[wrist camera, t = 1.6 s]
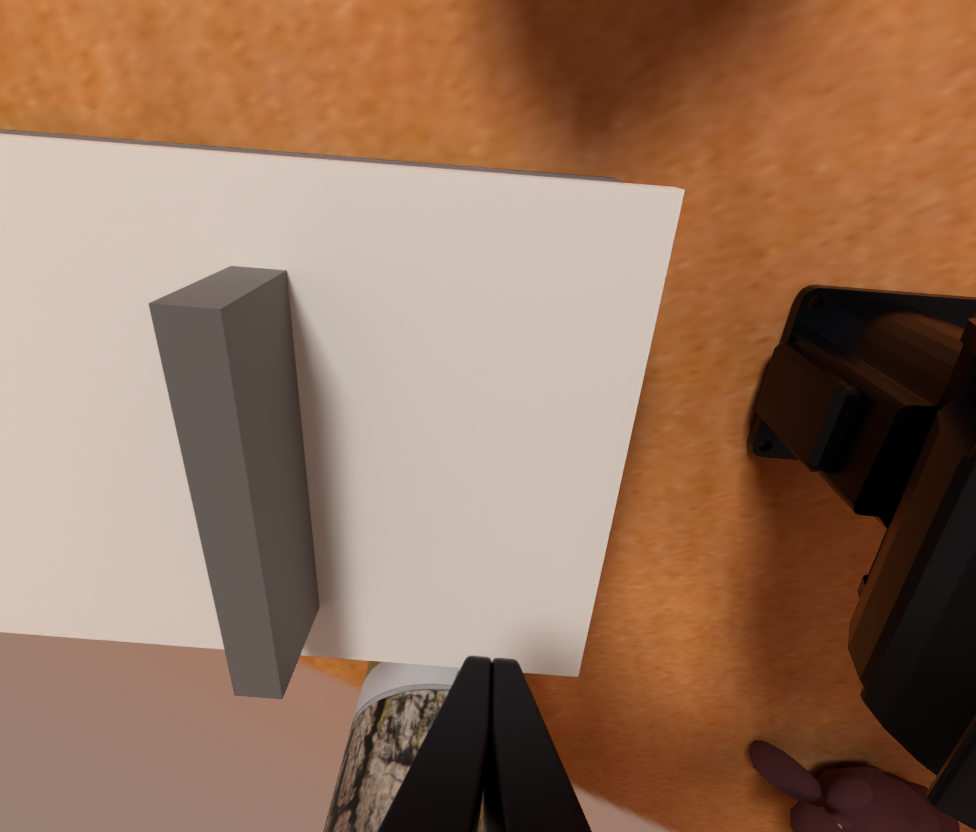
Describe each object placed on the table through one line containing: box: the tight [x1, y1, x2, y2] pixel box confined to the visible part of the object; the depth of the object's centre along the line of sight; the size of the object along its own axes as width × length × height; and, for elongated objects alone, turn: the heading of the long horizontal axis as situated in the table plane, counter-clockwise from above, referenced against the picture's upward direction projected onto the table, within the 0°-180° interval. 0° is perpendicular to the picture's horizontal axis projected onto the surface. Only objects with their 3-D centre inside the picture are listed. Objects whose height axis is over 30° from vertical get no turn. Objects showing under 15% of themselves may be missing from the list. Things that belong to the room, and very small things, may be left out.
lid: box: [0, 134, 685, 699], centre depth 13 cm, size 20×14×4 cm
